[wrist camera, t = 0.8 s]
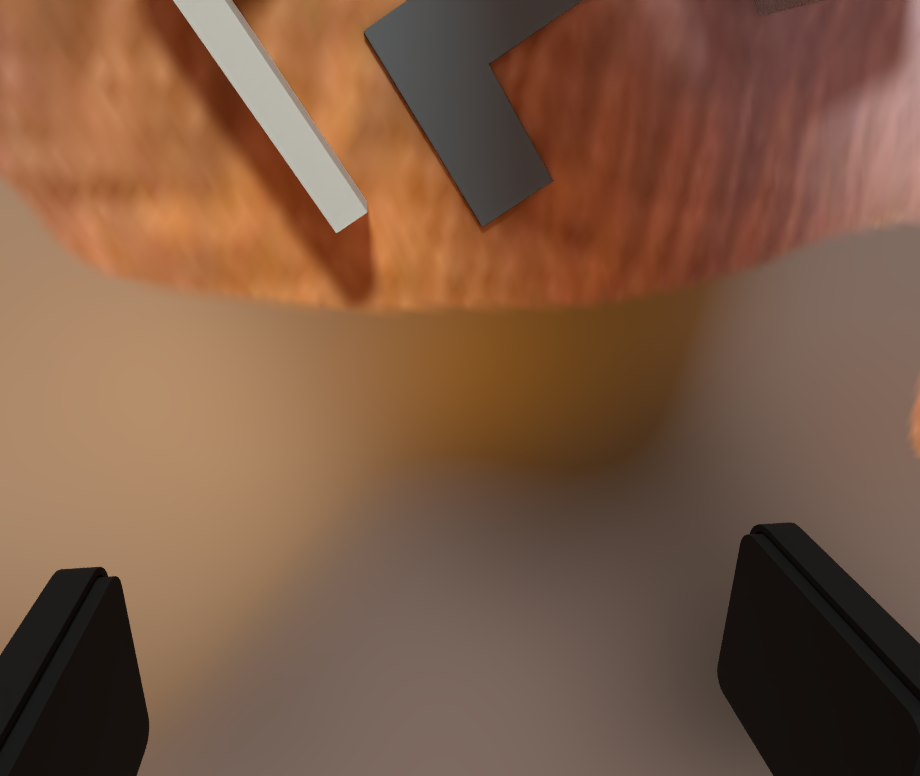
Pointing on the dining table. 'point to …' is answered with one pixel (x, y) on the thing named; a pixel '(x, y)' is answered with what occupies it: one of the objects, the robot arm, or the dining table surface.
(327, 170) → the light grey l-shaped block
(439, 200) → the dining table surface
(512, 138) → the pose mat
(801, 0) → the angle bracket
